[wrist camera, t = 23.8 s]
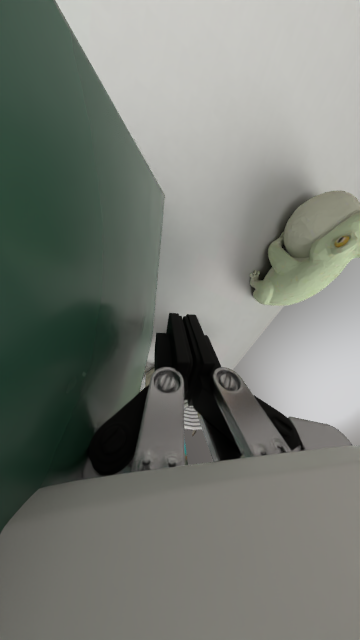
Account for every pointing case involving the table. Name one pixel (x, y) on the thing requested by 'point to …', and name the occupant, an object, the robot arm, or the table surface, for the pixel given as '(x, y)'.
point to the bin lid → (66, 254)
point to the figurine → (311, 249)
